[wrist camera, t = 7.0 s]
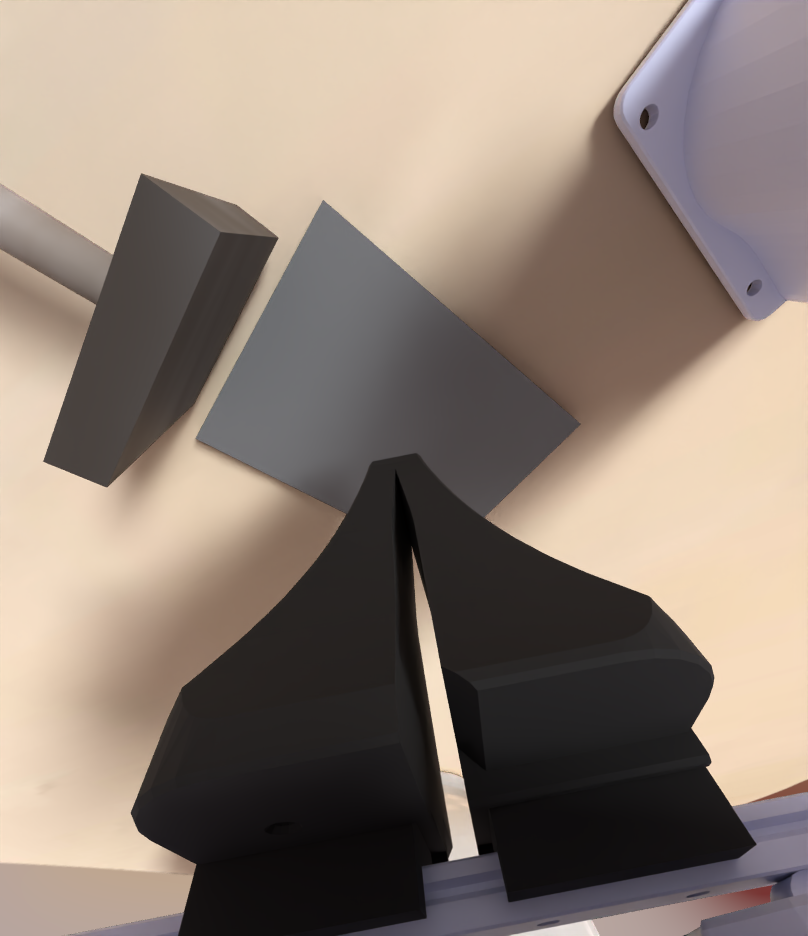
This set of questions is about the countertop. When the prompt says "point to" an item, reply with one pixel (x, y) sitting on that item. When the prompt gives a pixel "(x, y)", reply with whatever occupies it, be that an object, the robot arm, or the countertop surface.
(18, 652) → the countertop surface
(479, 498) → the flat gray panel
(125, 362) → the player rod
